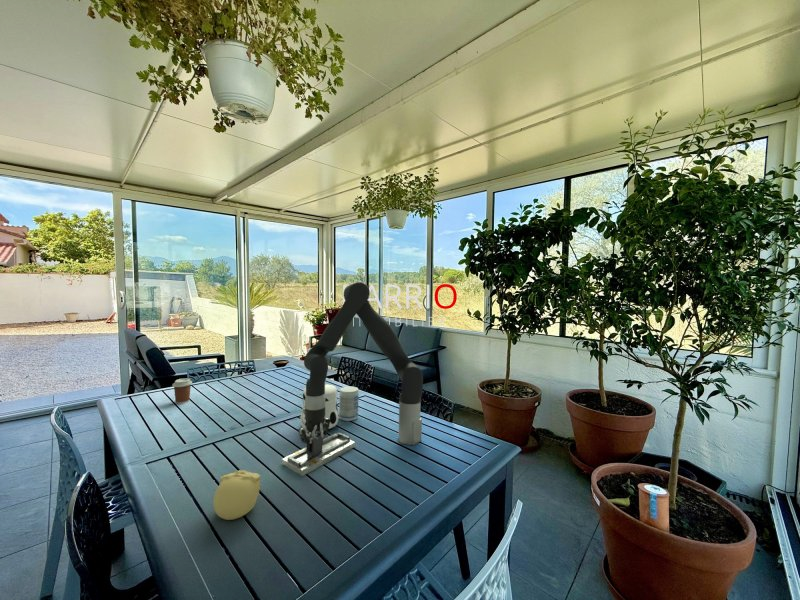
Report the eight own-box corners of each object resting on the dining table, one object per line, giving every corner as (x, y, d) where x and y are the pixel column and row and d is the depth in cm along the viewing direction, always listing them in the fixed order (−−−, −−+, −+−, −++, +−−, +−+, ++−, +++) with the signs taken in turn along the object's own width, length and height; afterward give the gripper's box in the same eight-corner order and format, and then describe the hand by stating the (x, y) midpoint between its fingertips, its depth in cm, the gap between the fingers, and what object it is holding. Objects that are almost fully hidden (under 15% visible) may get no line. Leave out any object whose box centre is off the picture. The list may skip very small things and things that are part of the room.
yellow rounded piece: (265, 496, 98) (265, 462, 98) (247, 525, 86) (247, 487, 86) (227, 496, 98) (227, 462, 97) (205, 525, 86) (205, 487, 85)
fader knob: (315, 449, 123) (315, 433, 123) (322, 452, 121) (322, 436, 121) (307, 453, 120) (307, 437, 120) (313, 456, 118) (313, 440, 117)
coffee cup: (174, 399, 177) (174, 378, 177) (193, 397, 181) (193, 377, 181) (170, 405, 169) (170, 383, 169) (190, 403, 173) (190, 381, 173)
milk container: (299, 437, 137) (300, 396, 136) (301, 420, 154) (301, 384, 153) (339, 433, 142) (340, 393, 141) (337, 417, 158) (337, 382, 158)
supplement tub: (358, 421, 155) (358, 391, 154) (338, 422, 153) (339, 392, 153) (358, 413, 164) (358, 385, 164) (339, 414, 163) (340, 386, 162)
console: (335, 438, 137) (335, 430, 137) (355, 446, 130) (355, 438, 130) (282, 464, 116) (282, 455, 116) (302, 476, 109) (302, 466, 109)
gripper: (305, 413, 112) (305, 460, 112) (336, 402, 123) (335, 445, 124) (293, 408, 116) (292, 454, 117) (323, 398, 128) (322, 439, 128)
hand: (314, 449), depth 120 cm, fingers closed on fader knob, 4 cm apart
